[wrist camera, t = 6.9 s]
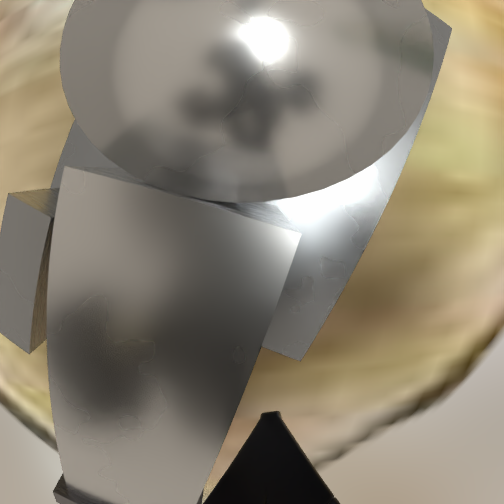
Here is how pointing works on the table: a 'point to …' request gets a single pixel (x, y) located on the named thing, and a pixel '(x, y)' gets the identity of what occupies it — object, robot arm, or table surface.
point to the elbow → (199, 211)
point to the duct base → (295, 209)
